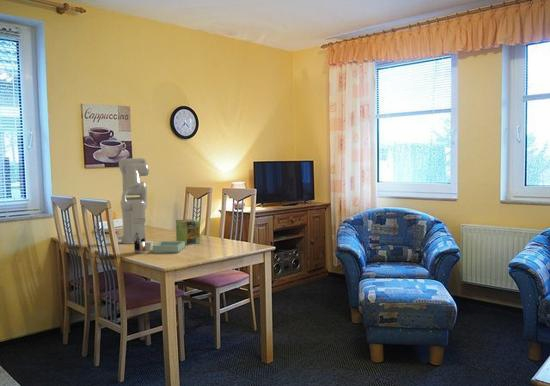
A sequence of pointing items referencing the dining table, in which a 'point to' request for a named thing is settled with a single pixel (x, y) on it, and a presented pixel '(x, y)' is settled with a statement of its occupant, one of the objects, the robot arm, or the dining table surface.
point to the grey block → (149, 245)
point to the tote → (168, 247)
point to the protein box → (188, 231)
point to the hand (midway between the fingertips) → (140, 248)
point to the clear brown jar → (141, 248)
